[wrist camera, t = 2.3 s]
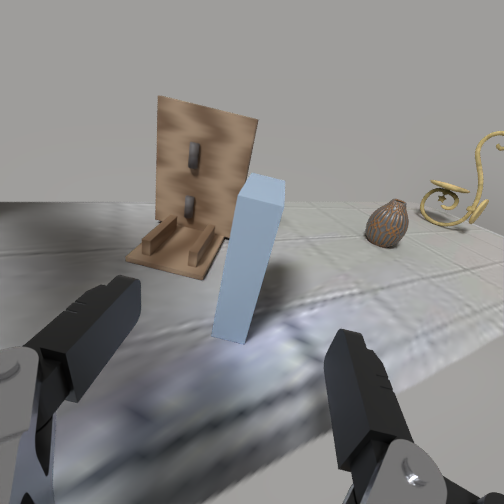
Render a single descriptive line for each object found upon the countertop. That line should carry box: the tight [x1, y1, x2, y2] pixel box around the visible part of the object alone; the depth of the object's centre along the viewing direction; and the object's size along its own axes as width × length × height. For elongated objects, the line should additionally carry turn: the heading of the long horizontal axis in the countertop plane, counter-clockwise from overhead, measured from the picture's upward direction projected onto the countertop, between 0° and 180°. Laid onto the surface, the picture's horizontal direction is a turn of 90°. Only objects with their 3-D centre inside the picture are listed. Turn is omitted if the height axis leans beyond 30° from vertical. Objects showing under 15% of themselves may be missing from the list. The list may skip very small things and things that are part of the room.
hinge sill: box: [125, 96, 258, 280], centre depth 30 cm, size 12×12×17 cm
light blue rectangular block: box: [211, 173, 285, 344], centre depth 22 cm, size 3×7×13 cm, turn 172°
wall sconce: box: [420, 131, 504, 226], centre depth 66 cm, size 14×10×25 cm
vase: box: [366, 199, 409, 247], centre depth 48 cm, size 7×7×9 cm
